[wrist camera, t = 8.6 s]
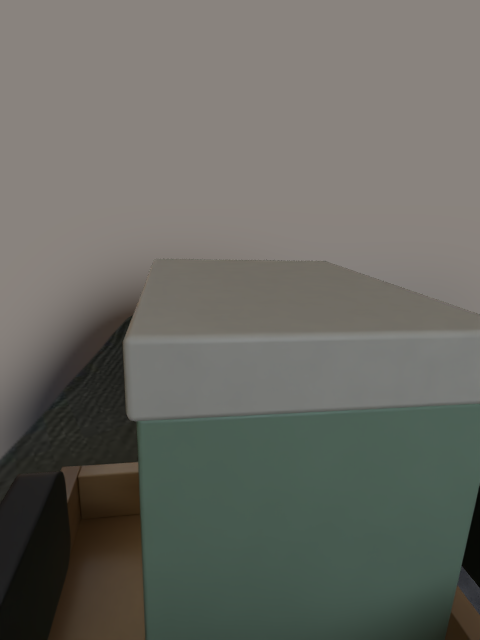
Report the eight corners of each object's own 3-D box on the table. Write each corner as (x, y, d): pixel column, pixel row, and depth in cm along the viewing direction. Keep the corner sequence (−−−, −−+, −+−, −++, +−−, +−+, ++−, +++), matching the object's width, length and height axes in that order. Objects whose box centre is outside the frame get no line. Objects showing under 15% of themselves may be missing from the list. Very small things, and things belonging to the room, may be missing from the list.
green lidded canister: (297, 594, 14) (327, 260, 11) (395, 901, 8) (531, 329, 5) (161, 611, 14) (153, 258, 10) (151, 967, 7) (121, 336, 4)
